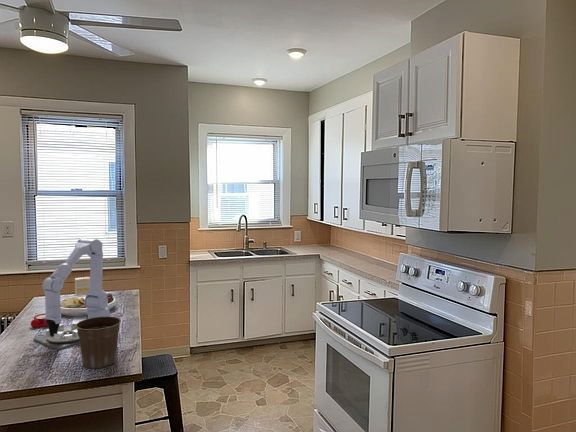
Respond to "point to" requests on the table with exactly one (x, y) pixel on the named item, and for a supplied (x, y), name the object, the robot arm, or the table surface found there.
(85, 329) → the plant pot
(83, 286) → the supplement box
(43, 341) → the mount plate
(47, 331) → the metal disc with lugs
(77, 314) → the bowl
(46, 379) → the table surface
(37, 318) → the alarm clock
